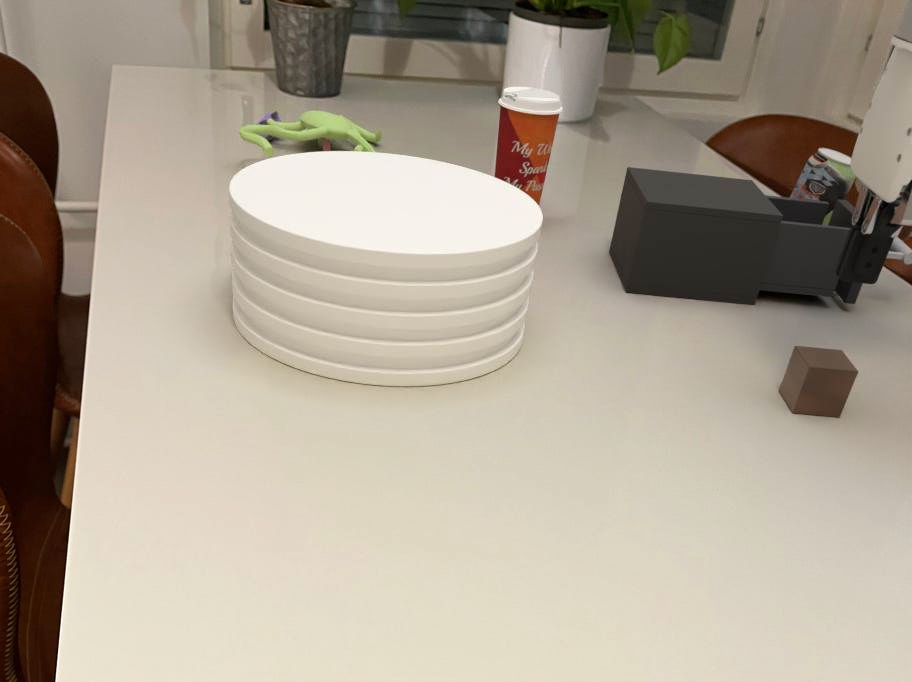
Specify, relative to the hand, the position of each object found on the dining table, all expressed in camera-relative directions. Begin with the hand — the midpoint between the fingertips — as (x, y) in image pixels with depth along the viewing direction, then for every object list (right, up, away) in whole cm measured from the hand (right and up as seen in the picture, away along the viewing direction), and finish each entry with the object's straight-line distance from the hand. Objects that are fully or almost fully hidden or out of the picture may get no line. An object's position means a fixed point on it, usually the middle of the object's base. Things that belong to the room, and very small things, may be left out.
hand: (854, 278), depth 84 cm
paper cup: (-26, +23, +41) cm, 53 cm away
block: (-1, -9, +7) cm, 12 cm away
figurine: (-52, +35, +51) cm, 80 cm away
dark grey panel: (+7, +11, +30) cm, 33 cm away
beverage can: (+10, +18, +41) cm, 46 cm away
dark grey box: (-7, +11, +30) cm, 32 cm away
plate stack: (-41, 0, +12) cm, 43 cm away
